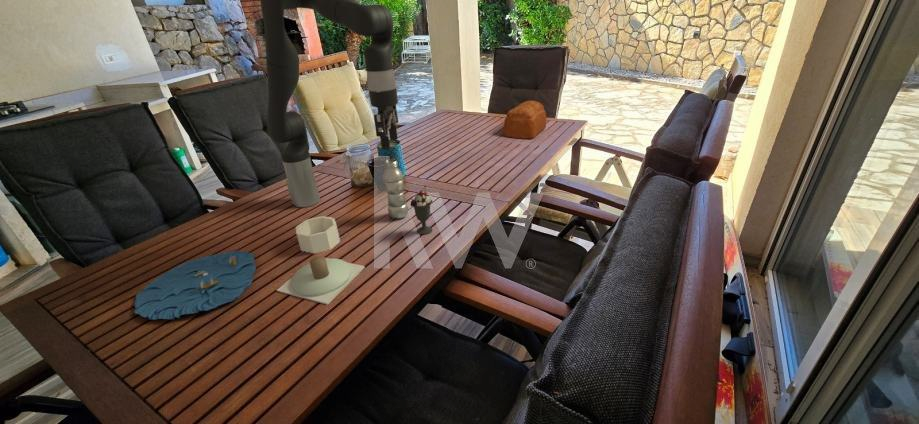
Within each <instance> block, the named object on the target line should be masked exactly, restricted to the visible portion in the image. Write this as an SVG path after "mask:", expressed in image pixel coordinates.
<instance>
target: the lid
mask: <svg viewBox="0 0 919 424" xmlns="http://www.w3.org/2000/svg"><path fill="white" fill-rule="evenodd" d="M325 258H326V257H324V256H321V255H317V256H314V257H312V258H311V259H310V260H309V262H308V263H307V264H305V265H304V266H302V267H300V268H299V269H298V270H297V271H296V272H295V273H294V274H293V276H292V277H291V278H292V280H291V283H292V287H293V289H294V291H295V292H297V293H298V294H300V295H304V296H319V295H324V294H327V293H330V292H332V291H335V290H337V289H338V288H340V287H341V286H343V285H344V284H345V283H346V282H347V281H348V279H349V278H350V275H351V270H350V266H349V264H348V263H349V262H347V261H345V260H343V259H339V258H328V259H325Z"/></svg>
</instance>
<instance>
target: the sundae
mask: <svg viewBox="0 0 919 424" xmlns="http://www.w3.org/2000/svg"><path fill="white" fill-rule="evenodd" d="M423 188H424V189H426V188H427V185H424V186H423ZM410 199H411V201H410V207H413V210H414V214H415V217H416V219H417V220H418V221H420V222H421V226H420V227H418V228H417V230H416V232H417V234H418V235H429V234H431V233H432V232H433V228H432V227H431V226H427V224H426V223H427V222H426V221H428V220H429V219H430V215H431V204H432V203H433V200H432V199H431V198H430V197H429V195H428V193H427V192H426V191H424V192H423V190H420V191H419V192H418V193H417V194H416V195H415V196H414V198H412V197H411V198H410Z"/></svg>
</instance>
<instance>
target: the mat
mask: <svg viewBox="0 0 919 424" xmlns="http://www.w3.org/2000/svg"><path fill="white" fill-rule="evenodd" d="M325 259H329V258H328V257H325ZM347 263H348V264H349V266H350V270H351V275H350V278H349V279H348V281H347V282H346V283H345V284H344V285H343V286H341V287H340V288H338V289H337V290H335V291H332V292H330V293H327V294H324V295H319V296H304V295H300V294H298V293H297V292H295V291H294V289H293V287H292V283H291V280H292V277H290V279H288V280H287V281H286V282H285V283H283V284H282V285H281V286H279V288H277V289H276V292H278V291H279V293H283V294H286V295H290V296H293V297H297V298H300V299H305V300H308V301H312V302H315V303H320V304H323V305H327V306H328V305H330V303H331V302H332V301H333V300H334V299H335V298H336V297H337V296H338V295H339V294H340V293H341V292H342V291H343V290H344V289H345V288H346V287H347V286H349V284H350V283H351V282H352V281H353V280H354V279H355V278H357V276H358V275H359V274H361V272H362V271H363V270H364V269H365V268H366V267H365V265H361V264H356V263H353V262H352V263H351V262H347Z"/></svg>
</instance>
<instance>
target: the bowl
mask: <svg viewBox="0 0 919 424" xmlns="http://www.w3.org/2000/svg"><path fill="white" fill-rule="evenodd" d="M295 231H296V232H295V233H296V237H297V240H298V245H299V247H300V251H301V252H304V251H305V253H309V252H310V253H309V254H318V253H321V252H326V251H329V250H332V249H333V248H334V247H335V246H337V245H338V244H339V243H341V239H340V234H339V231H338V226H337V222H336V219H335V218H334V217H330V216H324V215H321V216H316V217H312V218H307V219H305V220H303V221H302V222H301V223H299V224H298V225H296V226H295Z"/></svg>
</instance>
